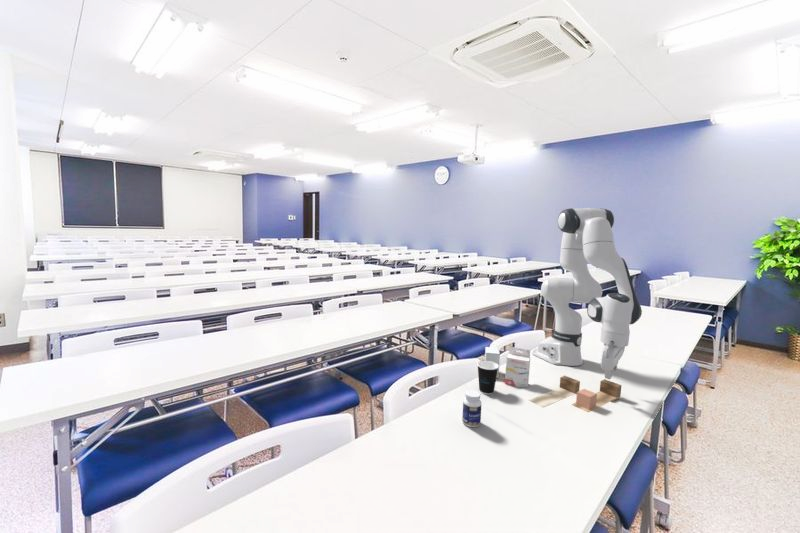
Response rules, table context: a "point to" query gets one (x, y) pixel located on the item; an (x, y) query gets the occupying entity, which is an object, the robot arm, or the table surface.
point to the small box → (492, 356)
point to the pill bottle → (471, 409)
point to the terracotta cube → (586, 399)
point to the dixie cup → (487, 376)
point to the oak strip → (605, 394)
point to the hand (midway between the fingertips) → (610, 373)
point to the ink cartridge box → (517, 367)
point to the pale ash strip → (558, 392)
